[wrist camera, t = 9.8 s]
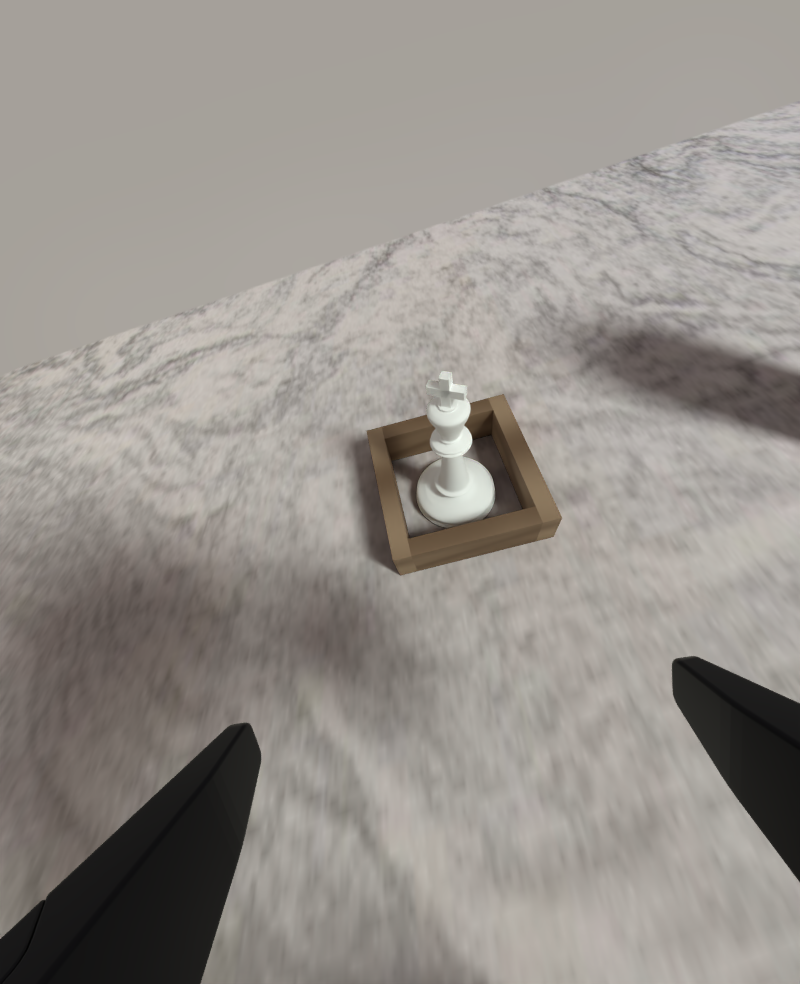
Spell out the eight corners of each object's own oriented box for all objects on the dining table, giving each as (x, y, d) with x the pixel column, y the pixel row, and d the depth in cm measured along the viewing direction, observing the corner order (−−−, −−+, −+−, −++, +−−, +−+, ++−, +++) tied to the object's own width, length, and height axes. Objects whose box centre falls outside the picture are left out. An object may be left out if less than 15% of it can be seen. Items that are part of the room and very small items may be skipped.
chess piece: (430, 454, 26) (410, 328, 18) (504, 470, 25) (520, 341, 16) (405, 517, 24) (368, 410, 16) (483, 538, 23) (489, 434, 14)
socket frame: (553, 536, 22) (562, 517, 20) (400, 575, 22) (392, 560, 20) (501, 419, 27) (503, 394, 24) (375, 453, 27) (366, 430, 25)
